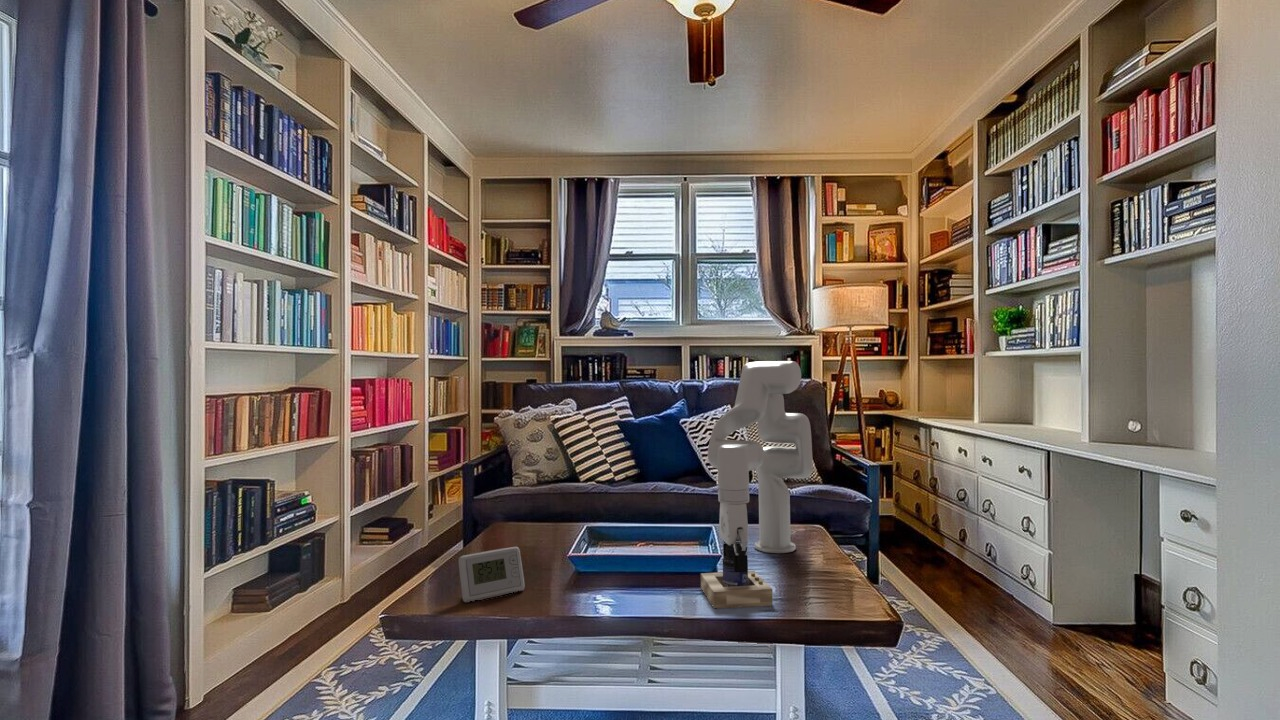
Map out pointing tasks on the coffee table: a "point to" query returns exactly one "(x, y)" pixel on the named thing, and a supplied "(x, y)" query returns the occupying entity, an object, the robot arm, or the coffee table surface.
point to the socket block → (736, 591)
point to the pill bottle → (732, 570)
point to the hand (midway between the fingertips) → (735, 565)
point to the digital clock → (491, 573)
